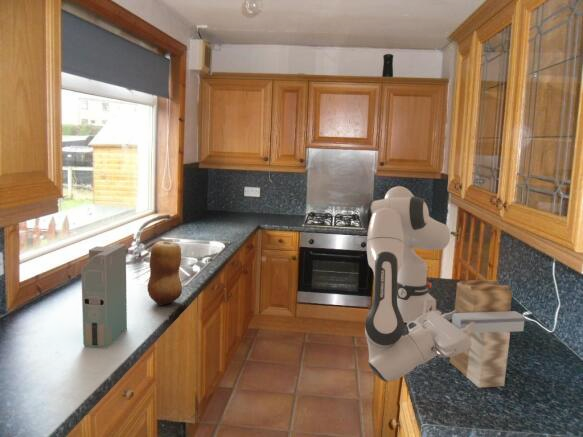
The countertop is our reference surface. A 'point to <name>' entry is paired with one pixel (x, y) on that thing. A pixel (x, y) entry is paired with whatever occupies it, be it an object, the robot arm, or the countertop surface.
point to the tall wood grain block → (485, 346)
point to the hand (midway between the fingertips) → (465, 318)
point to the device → (104, 296)
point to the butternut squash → (165, 272)
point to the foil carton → (490, 321)
